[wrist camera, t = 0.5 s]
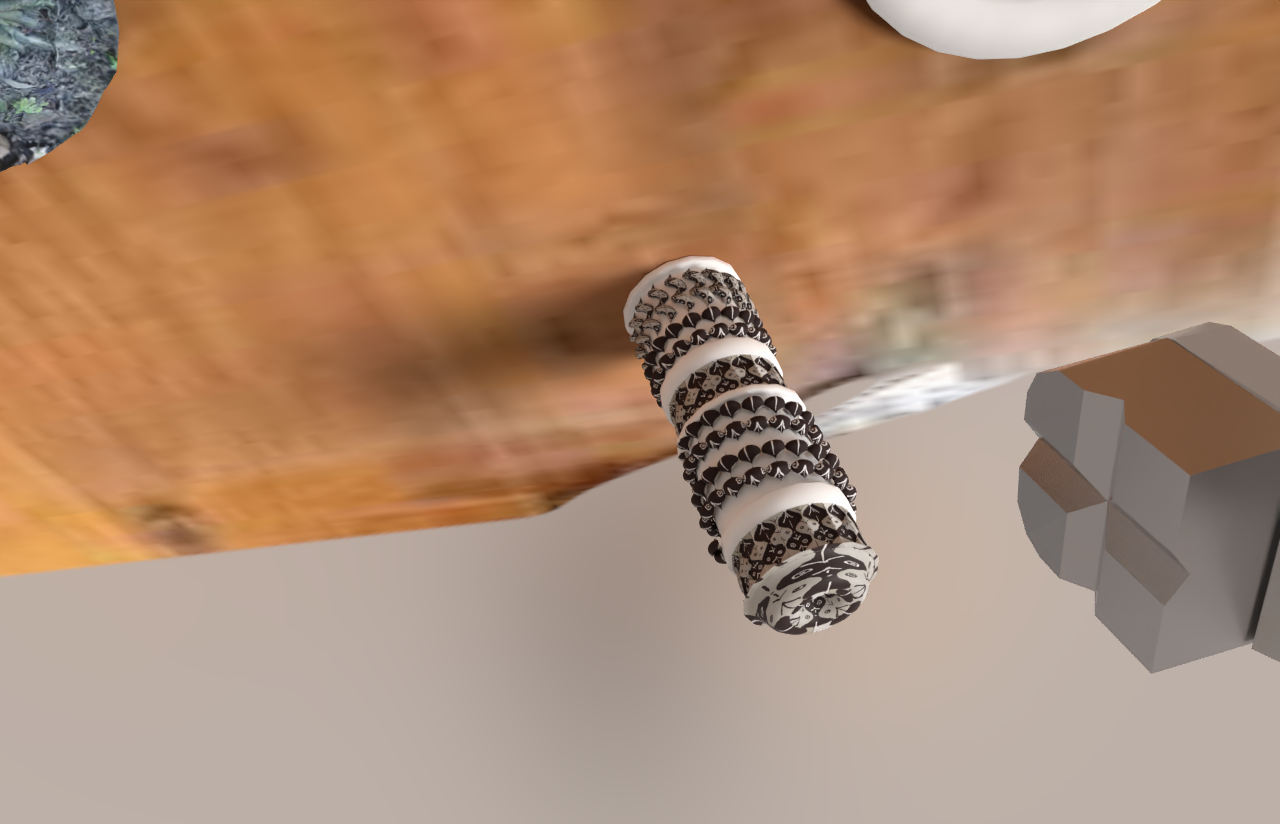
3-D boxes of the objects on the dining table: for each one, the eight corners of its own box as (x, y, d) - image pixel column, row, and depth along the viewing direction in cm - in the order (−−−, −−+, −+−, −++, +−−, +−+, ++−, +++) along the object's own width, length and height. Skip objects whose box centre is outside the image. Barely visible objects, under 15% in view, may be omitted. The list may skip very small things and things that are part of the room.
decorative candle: (735, 341, 86) (877, 636, 71) (611, 359, 84) (731, 668, 68) (757, 243, 80) (920, 546, 64) (624, 259, 77) (760, 578, 62)
